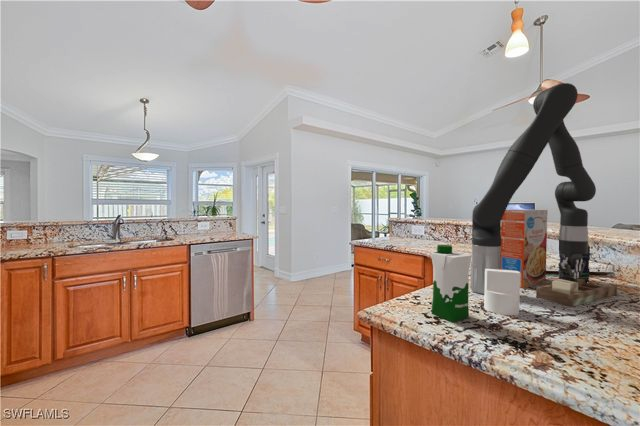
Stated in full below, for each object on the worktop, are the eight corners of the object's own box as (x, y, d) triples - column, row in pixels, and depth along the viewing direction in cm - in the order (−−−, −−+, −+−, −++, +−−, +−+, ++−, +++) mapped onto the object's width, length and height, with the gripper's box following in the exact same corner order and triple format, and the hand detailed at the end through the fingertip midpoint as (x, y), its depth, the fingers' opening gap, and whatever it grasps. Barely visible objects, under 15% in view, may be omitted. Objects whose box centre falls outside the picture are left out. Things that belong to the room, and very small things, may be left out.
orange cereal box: (523, 288, 108) (524, 210, 107) (500, 283, 115) (501, 210, 114) (545, 279, 121) (547, 209, 120) (523, 275, 128) (525, 209, 127)
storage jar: (568, 282, 116) (569, 246, 116) (552, 276, 126) (553, 243, 126) (596, 284, 115) (597, 247, 114) (578, 277, 124) (579, 244, 124)
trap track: (571, 306, 89) (571, 295, 89) (536, 297, 98) (536, 287, 98) (616, 294, 101) (616, 284, 101) (581, 287, 110) (581, 278, 110)
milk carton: (446, 308, 88) (447, 243, 87) (474, 318, 80) (475, 247, 79) (426, 313, 83) (427, 245, 83) (453, 324, 75) (454, 250, 75)
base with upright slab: (487, 313, 84) (488, 272, 83) (481, 303, 92) (482, 266, 92) (523, 317, 81) (524, 275, 80) (514, 306, 89) (514, 268, 89)
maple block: (569, 296, 93) (570, 284, 93) (552, 292, 97) (552, 280, 97) (577, 294, 95) (578, 282, 95) (560, 290, 99) (560, 279, 99)
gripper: (576, 241, 91) (574, 294, 92) (597, 239, 97) (595, 289, 97) (549, 238, 98) (548, 288, 99) (570, 236, 104) (569, 283, 104)
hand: (571, 288), depth 98 cm, fingers closed
